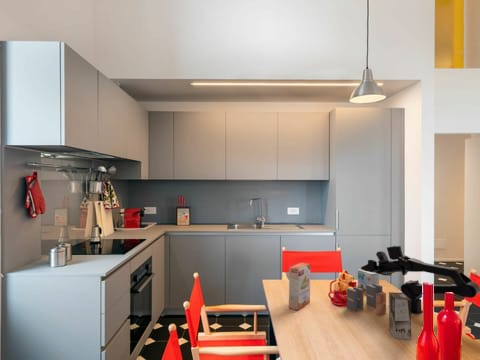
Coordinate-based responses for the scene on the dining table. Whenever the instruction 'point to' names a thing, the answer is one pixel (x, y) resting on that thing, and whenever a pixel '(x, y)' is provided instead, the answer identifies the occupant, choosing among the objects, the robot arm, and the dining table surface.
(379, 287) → the domino
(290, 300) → the cracker box
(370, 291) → the domino
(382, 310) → the domino
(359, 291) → the domino
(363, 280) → the light bulb box
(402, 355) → the dining table surface
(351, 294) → the domino
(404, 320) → the coffee box
